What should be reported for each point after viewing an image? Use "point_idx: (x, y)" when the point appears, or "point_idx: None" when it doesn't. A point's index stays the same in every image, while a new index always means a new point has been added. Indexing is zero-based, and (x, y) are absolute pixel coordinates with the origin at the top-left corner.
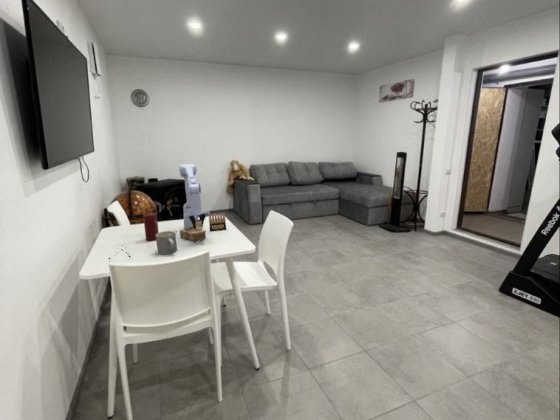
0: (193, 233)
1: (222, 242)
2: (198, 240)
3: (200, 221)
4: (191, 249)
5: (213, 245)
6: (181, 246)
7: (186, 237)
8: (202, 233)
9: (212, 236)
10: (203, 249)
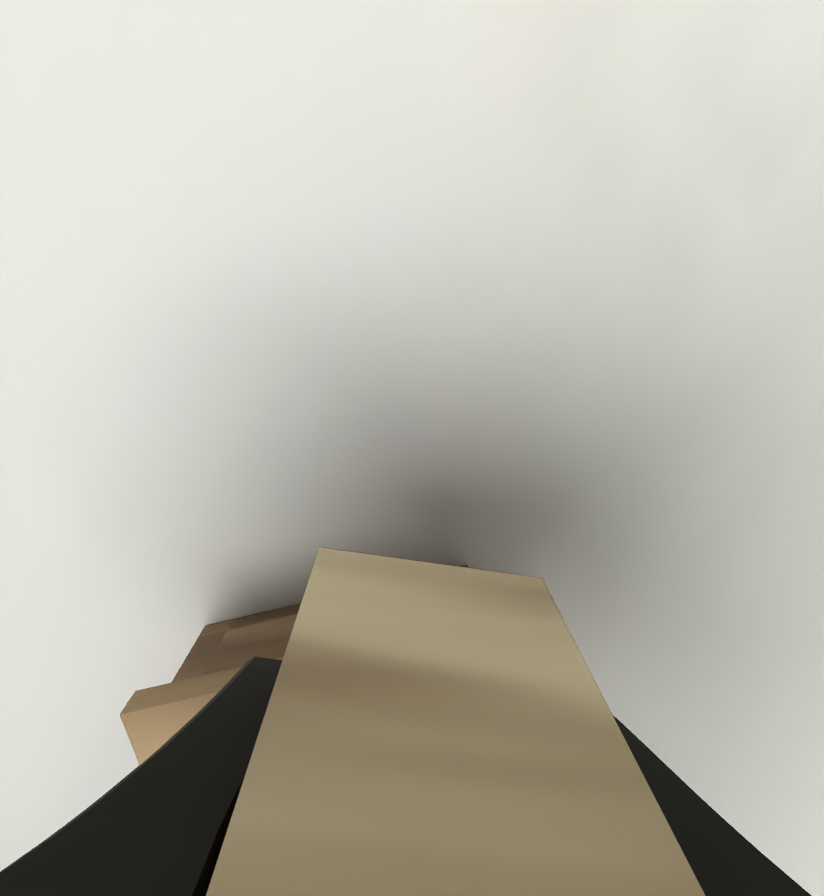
0: None
1: (14, 106)
2: None
3: (323, 879)
4: (756, 240)
5: (279, 85)
6: (787, 555)
7: None
8: None
9: (37, 638)
10: (581, 20)
